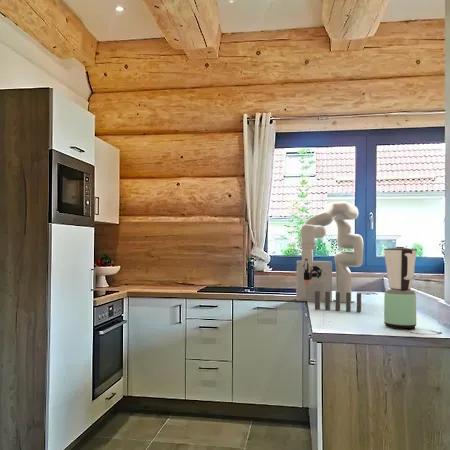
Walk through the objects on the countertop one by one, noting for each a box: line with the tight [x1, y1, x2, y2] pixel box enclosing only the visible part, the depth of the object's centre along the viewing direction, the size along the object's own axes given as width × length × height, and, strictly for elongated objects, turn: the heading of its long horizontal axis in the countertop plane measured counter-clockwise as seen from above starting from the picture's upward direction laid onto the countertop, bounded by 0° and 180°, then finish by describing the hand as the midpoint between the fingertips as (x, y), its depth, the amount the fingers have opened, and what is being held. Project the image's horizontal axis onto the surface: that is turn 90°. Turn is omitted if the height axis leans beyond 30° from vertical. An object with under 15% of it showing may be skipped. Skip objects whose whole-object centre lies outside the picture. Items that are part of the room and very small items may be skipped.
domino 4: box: [334, 291, 341, 312], centre depth 247 cm, size 5×2×10 cm, turn 160°
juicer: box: [383, 246, 418, 331], centre depth 197 cm, size 19×13×35 cm
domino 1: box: [305, 266, 310, 285], centre depth 253 cm, size 5×2×10 cm, turn 160°
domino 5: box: [345, 291, 352, 313], centre depth 245 cm, size 5×2×10 cm, turn 160°
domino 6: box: [356, 291, 362, 313], centre depth 243 cm, size 5×2×10 cm, turn 160°
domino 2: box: [314, 290, 321, 311], centre depth 251 cm, size 5×2×10 cm, turn 160°
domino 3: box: [324, 291, 331, 311], centre depth 249 cm, size 5×2×10 cm, turn 160°
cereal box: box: [295, 260, 333, 303], centre depth 290 cm, size 22×8×25 cm, turn 84°
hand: (307, 279), depth 253 cm, fingers closed on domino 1, 4 cm apart
